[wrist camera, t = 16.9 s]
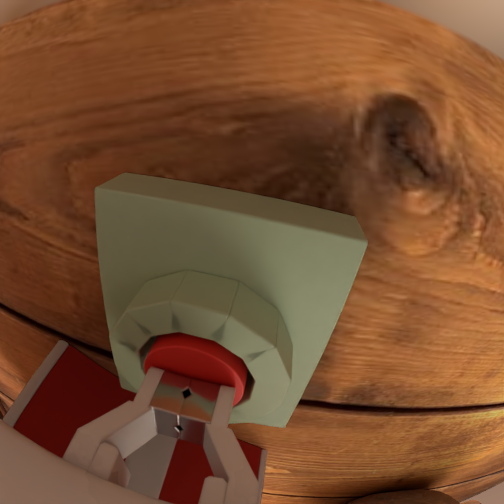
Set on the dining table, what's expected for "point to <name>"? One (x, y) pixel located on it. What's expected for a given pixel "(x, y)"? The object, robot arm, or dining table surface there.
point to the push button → (198, 360)
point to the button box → (224, 281)
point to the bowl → (407, 498)
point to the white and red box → (99, 403)
